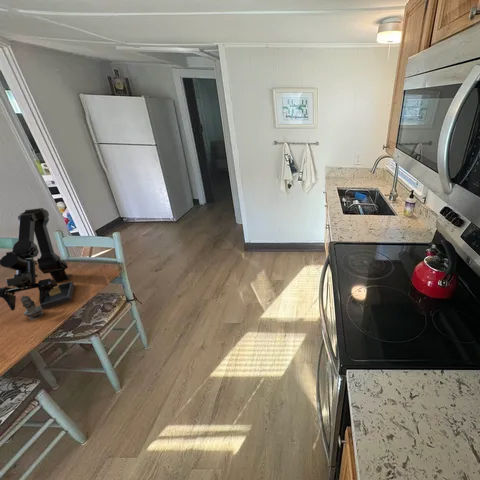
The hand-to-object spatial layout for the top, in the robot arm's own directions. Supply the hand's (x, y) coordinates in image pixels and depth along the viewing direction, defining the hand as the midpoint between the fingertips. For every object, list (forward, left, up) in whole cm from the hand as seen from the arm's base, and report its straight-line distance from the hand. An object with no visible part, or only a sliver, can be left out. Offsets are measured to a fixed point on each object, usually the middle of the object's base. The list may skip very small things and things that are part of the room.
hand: (27, 307), depth 114 cm
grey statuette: (-2, 0, -7) cm, 7 cm away
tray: (-13, +7, -7) cm, 17 cm away
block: (-18, +5, -6) cm, 20 cm away
